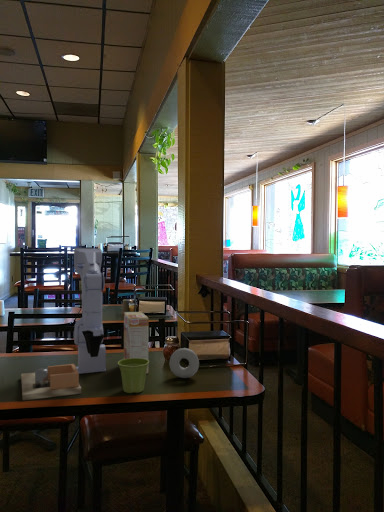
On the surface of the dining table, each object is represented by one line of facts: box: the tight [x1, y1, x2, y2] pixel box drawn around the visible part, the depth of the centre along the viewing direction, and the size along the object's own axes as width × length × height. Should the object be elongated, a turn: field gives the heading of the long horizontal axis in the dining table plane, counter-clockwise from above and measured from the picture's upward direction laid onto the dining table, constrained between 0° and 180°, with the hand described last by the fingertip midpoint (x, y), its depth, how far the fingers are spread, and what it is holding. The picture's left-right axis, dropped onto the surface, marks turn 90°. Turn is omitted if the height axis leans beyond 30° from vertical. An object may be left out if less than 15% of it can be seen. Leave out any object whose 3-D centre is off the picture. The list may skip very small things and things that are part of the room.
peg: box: [34, 367, 48, 389], centre depth 124 cm, size 4×4×6 cm
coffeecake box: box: [123, 311, 150, 375], centre depth 149 cm, size 15×7×20 cm, turn 16°
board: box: [20, 372, 82, 401], centre depth 129 cm, size 16×22×2 cm
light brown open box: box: [47, 363, 80, 390], centre depth 127 cm, size 8×11×4 cm
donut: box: [169, 347, 200, 379], centre depth 138 cm, size 10×4×10 cm, turn 85°
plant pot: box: [117, 358, 150, 394], centre depth 125 cm, size 9×9×9 cm
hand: (92, 354), depth 130 cm, fingers open, 4 cm apart
